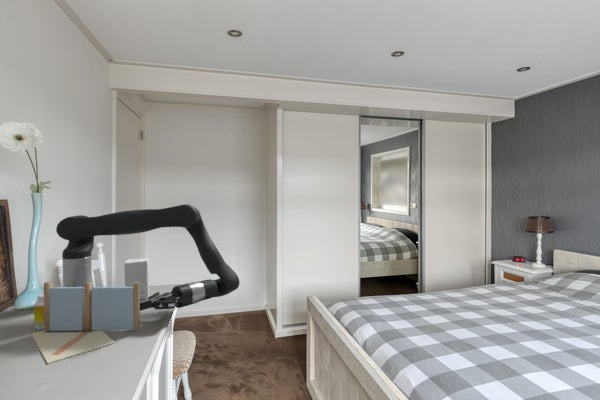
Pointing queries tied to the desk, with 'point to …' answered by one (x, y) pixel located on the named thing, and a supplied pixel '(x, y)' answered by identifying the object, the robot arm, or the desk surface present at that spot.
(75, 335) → the card
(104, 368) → the desk surface
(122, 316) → the fence panel
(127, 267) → the skincare box
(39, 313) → the supplement bottle
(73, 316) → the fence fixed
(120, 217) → the robot arm
